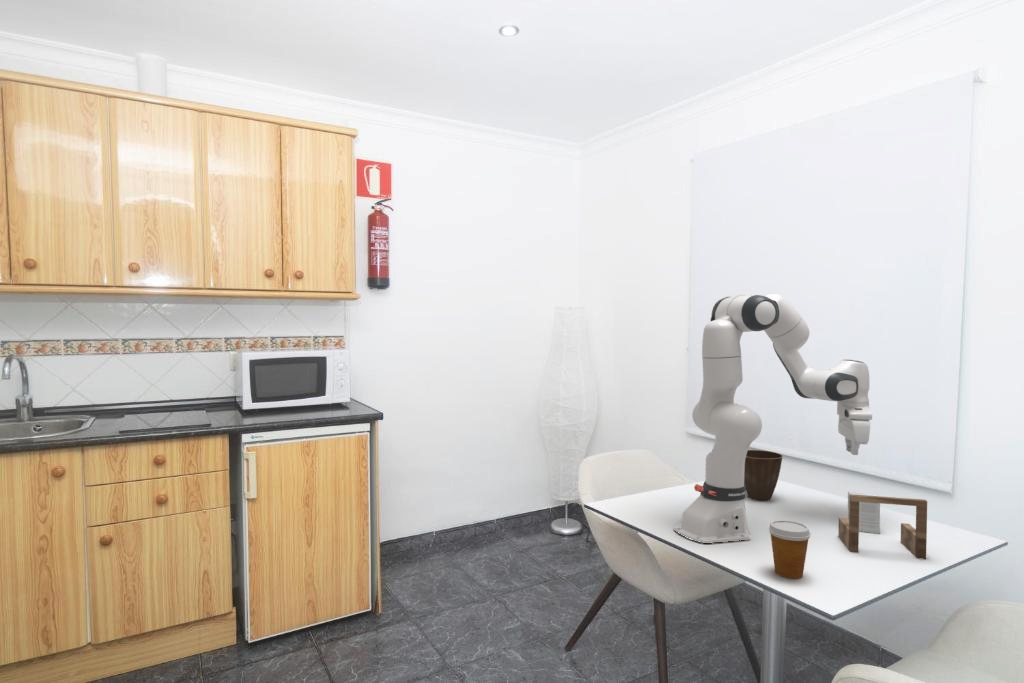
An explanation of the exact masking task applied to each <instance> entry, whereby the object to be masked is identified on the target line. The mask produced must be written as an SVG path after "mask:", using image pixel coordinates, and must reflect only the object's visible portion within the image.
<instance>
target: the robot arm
mask: <svg viewBox="0 0 1024 683" xmlns="http://www.w3.org/2000/svg"><path fill="white" fill-rule="evenodd" d="M761 331H764V332H765V334H766V335H767V336H768V338H769V339H770V341H771V342H772V348H773V350H774V352H775V355H776V356H777V357H778V359H779V360H780V363H781V364H782V365H783V367H784V369H785V371H786V372H787V374H788V376H789V377H790V379H791V380H790V381H791V382H792V386H793V389H794V391H795V392H796V394H797V395H798V396H799V397H801V398H802V399H811V400H812V399H813V400H814V399H815V400H821V401H829V402H837V404H836V415H837V416H838V424H837V425H838V426H837V431H838V434H840V435H841V436H843V437H844V441H845V450H846V451H847V452H850V454H851V455H852V456H858V455H859V448H860V446H861V445H868V443H869V441H870V431H871V421H872V420H873V412H872V411H871V410H870V399H869V391H870V371H869V367H868V365H867V364H866V363H865V362H864V361H860V360H854V359H842V360H840V362H839V363H838V364H837V365H836V366H834V367H832V368H830V369H817V368H813V367H811V366H810V365H807V363H806V361H805V360H804V359H803V357H802V355H801V353H800V352H799V349H801V348H802V347H804V345H805V344H807V341H808V340H809V337H810V328H809V326H808V324H807V322H806V320H805V319H804V318H803V317H802V316H801V314H800V313H799V311H798V310H797V309H796V308H795V307H794V306H793V305H792V304H791V303H790V301H788V300H787V299H785V298H784V296H782V295H780V294H778V293H769V294H766V295H761V294H754V295H752V294H751V295H748V294H739V295H733V296H726V297H723V298H721V299H719V300H717V301H716V303H714V305H713V307H712V310H711V317H710V321H709V322H708V323H707V324H706V325H705V326H704V328H703V332H702V342H701V355H702V356H701V357H702V358H701V359H702V373H703V374H702V379H703V380H702V390H701V394H700V398H699V399H698V400H699V401H698V402H697V403H696V405H694V407H693V410H692V415H691V416H692V421H693V423H694V424H695V426H696V427H698V428H699V429H700V430H702V431H703V432H704V433H706V434H709V435H712V436H714V437H715V438H714V444H713V447H712V450H711V451H710V452H709V453H707V455H706V456H705V476H704V477H705V480H704V482H703V484H702V485H700V484H698V483H696V484H695V485H694V487H693V489H694V491H696V492H698V493H700V495H699V496H698V497H697V498H696V499H695V500H694V501H693V502H692V503H691V504H689V506H688V507H686V508H685V509H684V511H683V512H682V519H681V523H680V524H676V525H674V526H673V530H674V529H675V530H676V531H677V532H679V533H680V534H682V535H684V536H686V537H688V538H691V539H693V540H696V541H700V542H704V543H711V542H723V543H729V542H728V541H734V542H742V541H741V540H745V541H750V539H751V537H750V530H749V526H748V518H747V517H748V516H747V512H746V504H745V502H746V501H745V499H746V495H747V492H746V486H745V485H744V471H745V459H746V455H747V451H748V450H750V446H751V444H752V443H753V442H754V441H755V440H756V439H758V437H759V436H760V434H761V433H762V429H763V423H762V422H763V421H762V418H761V416H760V414H759V413H757V412H756V411H755V410H753V409H752V408H749V407H748V406H745V405H743V404H740V403H739V404H738V403H735V401H734V400H735V394H736V390H737V389H738V387H740V386H741V384H742V382H743V363H742V349H741V337H742V336H743V333H745V332H746V333H747V332H761ZM739 540H740V541H739Z"/></svg>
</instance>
